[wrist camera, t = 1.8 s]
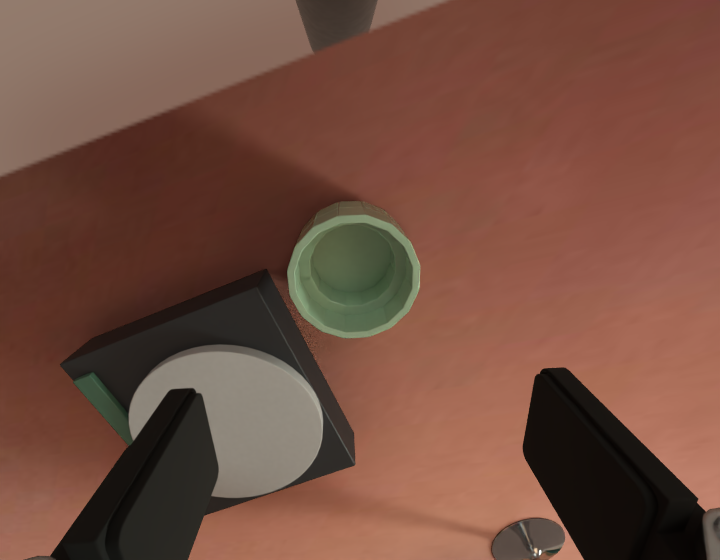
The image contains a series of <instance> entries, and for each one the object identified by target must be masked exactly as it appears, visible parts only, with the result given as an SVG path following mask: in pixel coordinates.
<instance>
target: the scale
mask: <svg viewBox="0 0 720 560" xmlns="http://www.w3.org/2000/svg"><path fill="white" fill-rule="evenodd" d="M60 366H61V367H62V368H63V369H64V370H65V372H66V373H67V374H68V375H69V376H70V377H71V378H72V380H73V383H74V384H75V385H76V386H77V387H78V389H79V390H80V391H81V392H82V393H83V394H84V395H85V397H86V398H87V399H88V400H89V401H90V402H91V403H92V405H93V406H94V407H95V408H96V409H97V410H98V411H99V413H100V414H101V415H102V416H103V417H104V418H105V419H106V421H107V422H108V423H109V424H110V425H111V426H112V427H113V428H114V430H115V431H116V432H117V433H118V434H119V435H120V436H121V438H122V439H123V440H124V441H125V442H126V443H127V444H128V446H129V445H131V444H132V442H133V441H134V440H135V438H136V437H137V435H138V434H139V432H140V431H141V430H142V428H143V427H144V425H145V424H146V422H147V421H148V420H149V418H150V417H151V415H152V414H153V412H154V411H155V410H156V408H157V407H158V405H159V404H160V402H161V401H162V400H163V398H164V397H165V395H166V394H167V392H168V391H169V390H171V389H181V388H194V389H195V390H196V393H201V394H202V396H203V400H204V404H205V409H206V413H207V417H208V422H209V426H210V430H211V435H212V439H213V443H214V448H215V452H216V456H217V461H218V465H219V473H218V479H217V482H216V484H215V487H214V490H213V493H212V495H211V498H210V501H209V503H208V506H207V509H206V512H205V514H204V515H207V514H210V513H213V512H216V511H219V510H222V509H225V508H228V507H231V506H234V505H237V504H240V503H243V502H246V501H249V500H252V499H255V498H258V497H261V496H264V495H267V494H270V493H273V492H276V491H279V490H282V489H285V488H288V487H291V486H294V485H297V484H300V483H303V482H306V481H309V480H312V479H315V478H318V477H321V476H324V475H327V474H330V473H333V472H336V471H339V470H342V469H345V468H348V467H351V466H354V465H355V446H354V432H353V430H352V429H351V427H350V425H349V423H348V421H347V419H346V417H345V415H344V414H343V412H342V410H341V408H340V406H339V404H338V402H337V400H336V399H335V397H334V395H333V393H332V391H331V389H330V387H329V385H328V384H327V382H326V380H325V378H324V376H323V374H322V372H321V370H320V369H319V367H318V365H317V363H316V361H315V359H314V357H313V355H312V353H311V352H310V350H309V348H308V346H307V344H306V342H305V340H304V338H303V337H302V335H301V333H300V331H299V329H298V327H297V325H296V323H295V322H294V320H293V318H292V316H291V314H290V312H289V310H288V308H287V307H286V305H285V303H284V301H283V299H282V297H281V295H280V293H279V292H278V290H277V288H276V286H275V284H274V282H273V280H272V278H271V276H270V275H269V273H268V271H267V269H265V270H262V271H259V272H257V273H254V274H252V275H249V276H247V277H244V278H242V279H239V280H237V281H234V282H232V283H229V284H227V285H224V286H222V287H219V288H217V289H214V290H212V291H209V292H207V293H204V294H202V295H199V296H197V297H194V298H192V299H189V300H187V301H184V302H182V303H179V304H177V305H174V306H172V307H169V308H167V309H164V310H162V311H159V312H157V313H154V314H152V315H149V316H147V317H144V318H142V319H139V320H137V321H134V322H132V323H129V324H127V325H124V326H122V327H119V328H117V329H114V330H112V331H109V332H107V333H104V334H102V335H99V336H97V337H94V338H92V339H90V340H89V341H88V342H87V343H85V344H84V345H83V346H82V347H80V348H79V349H78V350H77V351H76V352H74V353H73V354H72V355H71V356H69V357H68V358H67V359H66V360H64V361H63V362H62V363H61V364H60Z"/></svg>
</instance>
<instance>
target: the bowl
mask: <svg viewBox="0 0 720 560" xmlns="http://www.w3.org/2000/svg"><path fill="white" fill-rule="evenodd" d="M287 278H288V287H289V295H290V297H291V299H292V301H293V302H294V304H295V306H296V308H297V309H298V311H299V313H300V314H301V316H302V317H303V318H304V319H306V320H307V321H308V322H309V323H311V324H312V325H313V326H315V327H316V328H317V329H319V330H320V331H322V332H325V333H328V334H332V335H335V336H338V337H341V338H362V337H370V336H373V335H375V334H377V333H380V332H382V331H385V330H387V329H390V328H391V327H393V326H394V325H395V324H396V323H397V322H398V321H399V320H400V319H401V318H402V317H403V316H405V315H406V314H407V313H408V312H409V310H410V308H411V306H412V304H413V302H414V300H415V298H416V295H417V293H418V291H419V285H420V264H419V261H418V259H417V256H416V254H415V251H414V249H413V246H412V244H411V242H410V241H409V239H408V238H407V236H406V235H405V233H404V232H403V230H402V229H401V227H400V226H399V224H398V223H397V222H396V221H395V220H394V219H393V218H392V217H391V216H390V215H389V214H388V213H387V212H386V211H385V210H383V209H382V208H379V207H377V206H374V205H371V204H369V203H366V202H363V201H362V202H361V201H343V202H339V203H338V202H337V203H335V204H332V205H330V206H328V207H326V208H324V209H322V210H320V211H318V212H317V213H316V214H315V215H314V216H313V217H312V218H311V219H310V220H309V221H308V223H307V224H306V225H305V226H304V227H303V229H302V231H301V233H300V236H299V238H298V240H297V243H296V245H295V247H294V250H293V254H292V257H291V260H290V263H289V266H288V269H287Z"/></svg>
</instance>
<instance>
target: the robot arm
mask: <svg viewBox="0 0 720 560" xmlns="http://www.w3.org/2000/svg"><path fill="white" fill-rule="evenodd" d="M523 453H524V457H525V459H526V461H527V463H528V465H529V466H530V468H531V470H532V471H533V473H534V475H535V477H536V478H537V480H538V482H539V483H540V485H541V487H542V489H543V490H544V492H545V494H546V495H547V497H548V499H549V500H550V502H551V504H552V506H553V507H554V509H555V511H556V512H557V514H558V516H559V518H560V519H561V521H562V523H563V524H564V526H565V528H566V529H567V531H568V533H569V535H570V536H571V538H572V540H573V541H574V543H575V545H576V547H577V548H578V550H579V552H580V553H581V555H582V557H583V559H584V560H720V508H715V509H709V510H708V511H707V512H706V511H705V510H704V509H703V508H702V507H701V506H700V505H699V504H698V503H697V501H698V498H697V497H696V496H695V495H694V494H693V493H692V492H691V491H690V490H689V489H688V488H687V487H686V486H685V485H684V484H683V483H682V482H681V481H680V480H679V479H678V478H677V477H676V476H675V475H674V474H673V473H672V472H671V471H670V470H669V469H668V468H667V467H666V466H665V465H664V464H663V463H662V462H661V461H660V460H659V459H658V458H657V457H656V456H655V455H654V454H653V453H652V452H651V451H650V450H649V449H648V448H647V447H646V446H645V445H644V444H643V443H642V442H641V441H640V440H638V439H637V438H636V437H635V436H634V435H633V434H632V433H631V432H630V431H629V430H628V429H627V428H626V427H625V426H624V425H623V424H622V423H621V422H620V421H619V420H618V419H617V418H616V417H615V416H614V415H613V414H612V413H611V412H610V411H609V410H608V409H607V408H606V407H605V406H604V405H603V404H602V403H601V402H600V401H599V400H598V399H597V398H596V397H595V396H594V395H593V394H592V393H591V392H590V391H589V390H588V389H587V388H586V387H585V386H584V385H583V384H582V383H581V382H580V381H579V380H578V379H577V378H576V377H575V376H574V375H573V374H572V373H571V372H570V371H569V370H568V369H566V368H545V369H542V370H541V372H540V374H537V375H536V376H535V380H534V385H533V391H532V397H531V402H530V408H529V414H528V419H527V425H526V431H525V436H524V442H523ZM218 473H219V465H218V461H217V456H216V452H215V448H214V443H213V439H212V435H211V430H210V426H209V422H208V417H207V413H206V409H205V404H204V400H203V396H202V394H201V393H196V390H195V389H194V388H181V389H171V390H169V391H168V392H167V394H166V395H165V397H164V398H163V400H162V401H161V402H160V404H159V405H158V407H157V408H156V410H155V411H154V412H153V414H152V415H151V417H150V418H149V420H148V421H147V422H146V424H145V425H144V427H143V428H142V430H141V431H140V432H139V434H138V435H137V437H136V438H135V440H134V441H133V442H132V444H131V445H129V446H128V448H127V449H126V450H125V451H124V452H123V454H122V455H121V457H120V458H119V459H118V461H117V462H116V464H115V465H114V466H113V468H112V469H111V471H110V472H109V474H108V475H107V476H106V478H105V479H104V481H103V482H102V483H101V485H100V486H99V488H98V489H97V491H96V492H95V493H94V495H93V496H92V498H91V499H90V500H89V502H88V503H87V505H86V506H85V507H84V509H83V510H82V512H81V513H80V515H79V516H78V517H77V519H76V520H75V522H74V523H73V524H72V526H71V527H70V529H69V530H68V531H67V533H66V534H65V536H64V537H63V539H62V540H61V541H60V543H59V544H58V546H57V547H56V548H55V550H54V551H53V553H52V554H51V556H36V557H32V558H28V559H25V560H188V557H189V555H190V552H191V549H192V547H193V544H194V541H195V539H196V536H197V533H198V530H199V528H200V525H201V522H202V520H203V517H204V514H205V512H206V509H207V506H208V503H209V501H210V498H211V495H212V493H213V490H214V487H215V484H216V482H217V479H218Z"/></svg>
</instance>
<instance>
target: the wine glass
mask: <svg viewBox="0 0 720 560" xmlns="http://www.w3.org/2000/svg"><path fill="white" fill-rule="evenodd" d="M564 541H565V534H564V531H563V529H562V527H561V526H560V525H558V524H557V523H555V522H553V521H551V520H547V519H528V520H523V521H520V522H517V523H514V524H512V525H510V526H508V527H507V528H505V529H504V530H502V531H501V532H500V533H499V534H498V535H497V537H496V538H495V540H494V541H493V544H492V553H493V556H494V557H495V559H496V560H548V559H550V558H552V557H553V556H554V555H555V554H557V553H558V551H559V550H560V549H561V548H562V546H563V544H564Z"/></svg>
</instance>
